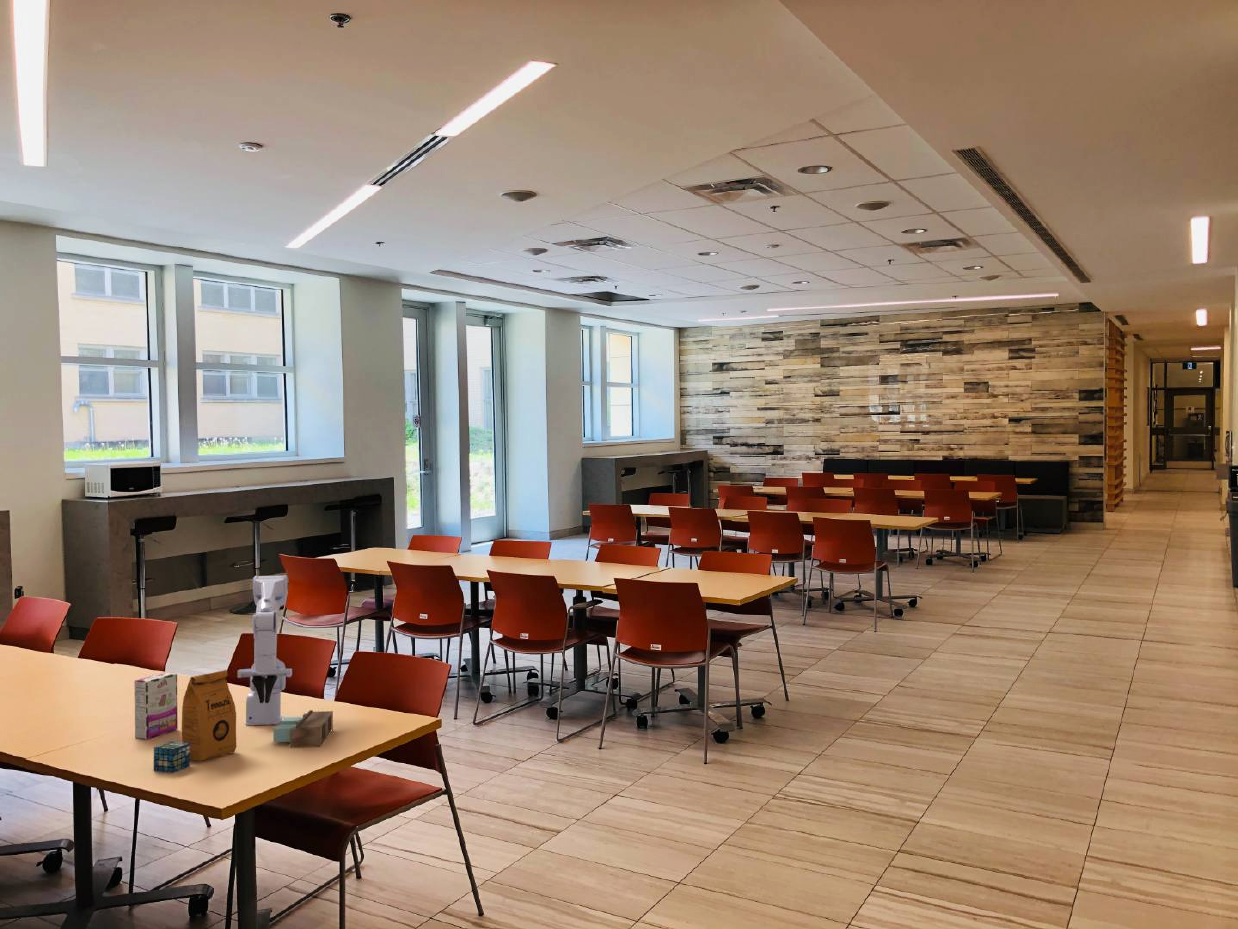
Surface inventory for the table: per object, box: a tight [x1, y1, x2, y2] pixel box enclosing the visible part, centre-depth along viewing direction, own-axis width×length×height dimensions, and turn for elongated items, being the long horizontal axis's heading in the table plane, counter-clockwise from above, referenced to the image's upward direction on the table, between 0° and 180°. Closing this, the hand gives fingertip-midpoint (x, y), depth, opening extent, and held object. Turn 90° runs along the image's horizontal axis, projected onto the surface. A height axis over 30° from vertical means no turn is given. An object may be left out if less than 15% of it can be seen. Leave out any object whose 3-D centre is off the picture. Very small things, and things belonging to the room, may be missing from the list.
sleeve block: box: [289, 709, 334, 748], centre depth 270 cm, size 8×17×6 cm, turn 5°
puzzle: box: [153, 740, 191, 774], centre depth 242 cm, size 6×6×6 cm
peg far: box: [280, 716, 303, 725], centre depth 273 cm, size 8×4×4 cm, turn 95°
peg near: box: [272, 724, 296, 743], centre depth 265 cm, size 8×4×4 cm, turn 95°
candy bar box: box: [134, 672, 178, 740], centre depth 274 cm, size 11×5×16 cm, turn 160°
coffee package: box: [181, 669, 238, 761], centre depth 253 cm, size 10×12×22 cm
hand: (264, 702), depth 273 cm, fingers closed
